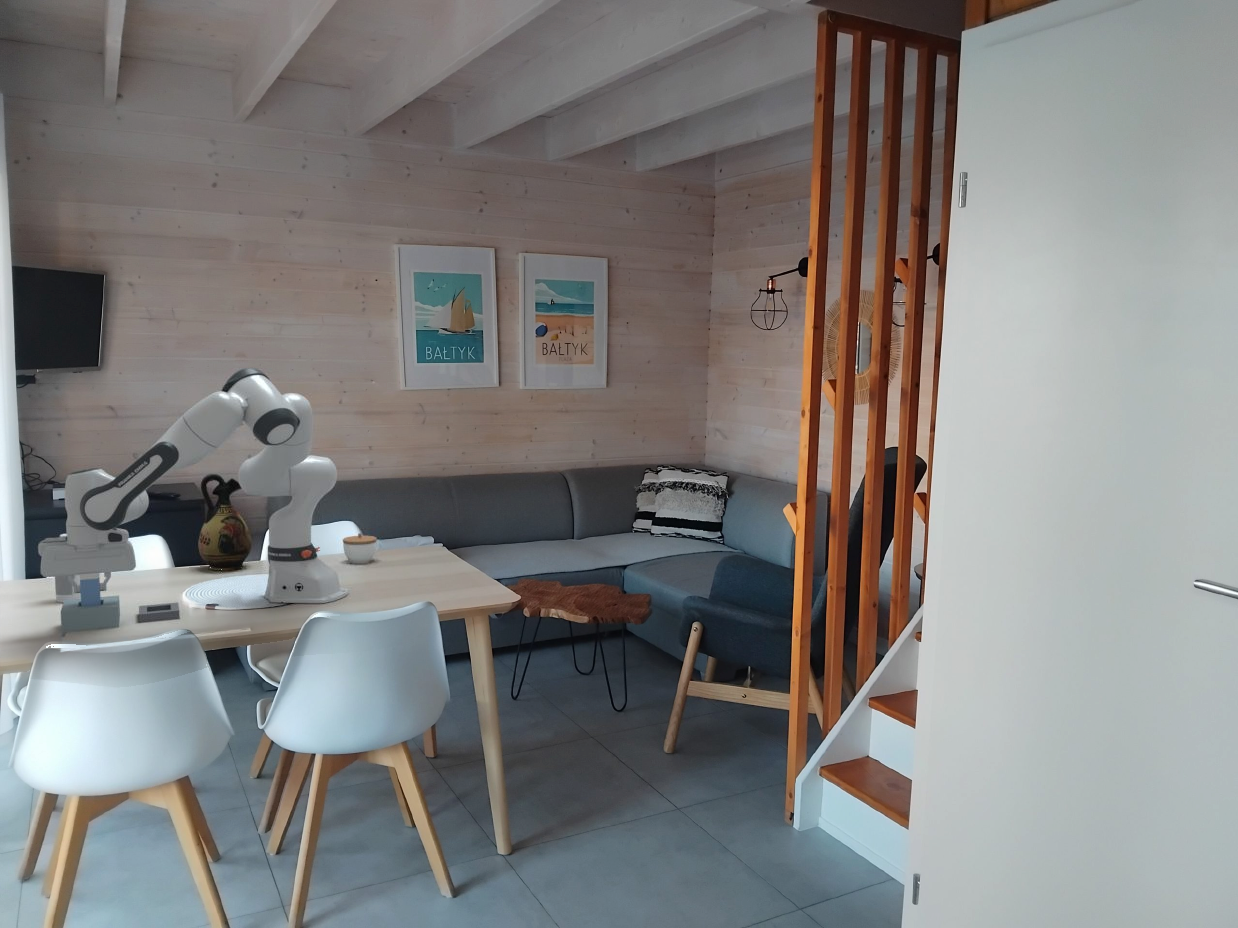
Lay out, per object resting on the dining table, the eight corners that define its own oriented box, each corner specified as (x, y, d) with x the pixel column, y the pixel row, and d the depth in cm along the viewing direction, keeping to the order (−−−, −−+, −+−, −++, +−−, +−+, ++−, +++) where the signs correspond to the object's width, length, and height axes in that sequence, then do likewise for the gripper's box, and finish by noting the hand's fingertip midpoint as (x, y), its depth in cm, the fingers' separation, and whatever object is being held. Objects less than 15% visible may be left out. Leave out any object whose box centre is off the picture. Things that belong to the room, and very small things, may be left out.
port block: (120, 618, 241) (119, 595, 241) (119, 630, 231) (118, 606, 230) (65, 623, 236) (64, 600, 235) (61, 636, 225) (60, 611, 225)
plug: (101, 605, 235) (99, 569, 234) (100, 609, 232) (98, 572, 231) (82, 607, 233) (80, 571, 233) (81, 611, 230) (79, 574, 229)
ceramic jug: (248, 561, 312) (245, 470, 309) (255, 570, 298) (252, 475, 295) (191, 566, 304) (188, 472, 301) (195, 575, 290) (192, 477, 287)
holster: (178, 613, 246) (178, 602, 246) (179, 622, 238) (179, 610, 238) (139, 617, 242) (139, 605, 242) (139, 626, 234) (138, 614, 234)
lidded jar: (345, 558, 317) (344, 531, 316) (378, 558, 319) (377, 530, 318) (341, 565, 307) (341, 536, 306) (376, 564, 309) (375, 535, 308)
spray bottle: (58, 598, 262) (55, 533, 260) (86, 596, 264) (83, 531, 262) (53, 603, 255) (50, 537, 253) (82, 601, 258) (79, 536, 256)
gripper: (36, 540, 223) (39, 598, 225) (134, 534, 233) (136, 590, 234) (38, 536, 229) (41, 593, 230) (134, 530, 238) (136, 584, 240)
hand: (90, 591), depth 232 cm, fingers closed on plug, 4 cm apart
